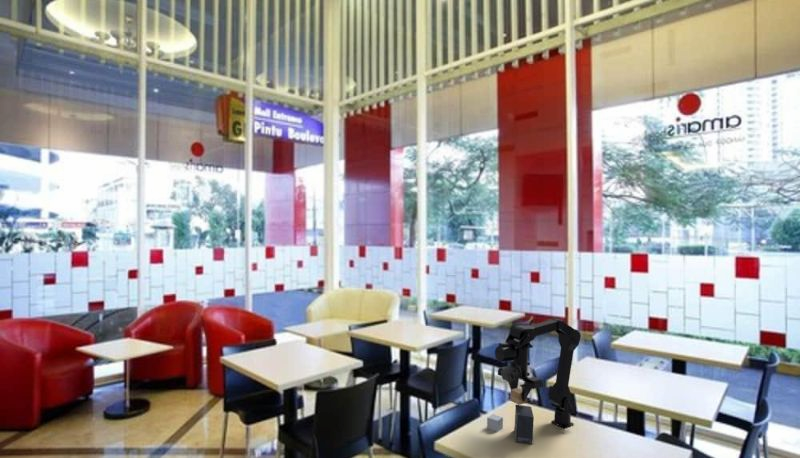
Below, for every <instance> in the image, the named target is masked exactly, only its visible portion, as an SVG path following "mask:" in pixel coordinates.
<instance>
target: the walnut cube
mask: <svg viewBox="0 0 800 458" xmlns="http://www.w3.org/2000/svg"><path fill="white" fill-rule="evenodd" d="M509 395H510V397H509V398H510V400H509V401H511V402H512V403H514V404H515V405H522V404H523V405H524V404H527V403H528V397H527V398H526V400H525V401H522V387H521V388H520V387H518V388H514V389H511V388H510V394H509Z"/></svg>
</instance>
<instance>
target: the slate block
mask: <svg viewBox="0 0 800 458" xmlns="http://www.w3.org/2000/svg"><path fill="white" fill-rule="evenodd" d="M486 420H487V421H486V424H487V425H486V429H487V430H490V431H493V432H496V433H498V432H500V431H501V430H503V427H504V417H503V416H500V415H497V414H494V413H492V414H490V415H489V416H487V418H486Z"/></svg>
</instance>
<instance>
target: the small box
mask: <svg viewBox="0 0 800 458" xmlns="http://www.w3.org/2000/svg"><path fill="white" fill-rule="evenodd" d="M514 408H515V411H514V413H515V414H514V427H513V432H514V439H515V443H522V444H527V445H533V441H534V437H533V436H534V421H535V420H534V419H535V418H534V413H533V409H532V408H533V407H532V406H531V405H530V406H529V405H524V404H523V405H522V404H520V405H518V404H515V407H514Z"/></svg>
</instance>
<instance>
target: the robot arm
mask: <svg viewBox="0 0 800 458" xmlns="http://www.w3.org/2000/svg"><path fill="white" fill-rule="evenodd" d="M552 332H555V333H556V334H557V335H558V336H557V338H558V343H559V346H560V353H559V358H558V365H557V372H556V378H555V382H554V383H553V385H549V387H548V393H547V396H548V400H549V401H550V405H551V406H552V407H554V419H552V420H551V423H552V424H554V425H556V426H559V427H561V428H562V429H566V428H569V427H572V426H574V422H571V421H572V420H571V417H572V415H571V414H573V413H575V412H576V409H577V406H576V405H575V404H574V403H573V401H572V393H571V390H570V388H569V385H570V377H571V371H572V370H571V369H572V364H573V357H574V352H575V350H576V349H577V348H578V346H579V345H580V341H581V338H582V335H581V332H580V331H579V330H578V329H575V328H573V327H572V326H570V325H569V324H567V323H566V322H565V321H564V320H562V319H559V318H551V319H548V320H545V321H542V322H539V323H538V322H537V323H534V324H532V325H524V324H522V325H515V326H513V327H512V329H511V332H510V333H509V334H508V336H507V338H506V339H505V342H498V345H497V347H496V348H495V350H494V356H495V358H496V360H497V361H498V362H501V363H503V362H509V366H508V365H507V366H502V367H501V366H500V367H499V368H498V369H497V375H498V376H499V377H501V378H502V380H503V381H506V382H507V383H508V385H509V388H510V390H511V389H514V388H519V387H518V386H520V387H521V389H522V401H525V400H526V398H527V399H528V396H529V395H530V393H531V391H532V390H535V389H539V388H543V387H544V381H543V380H542V379H541V378H539V377H537V376H531V377H528V376H530V373H531V372H528V369H529V368H528V367H529V366H531V363H530V362H529V349H532V348H534V346H533V344H531V342H532V341H534V340H535V338H536V337H538V336H542V335H546V334H548V333H552ZM520 381H522V382H523V383H522V384H519V382H520Z"/></svg>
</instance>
